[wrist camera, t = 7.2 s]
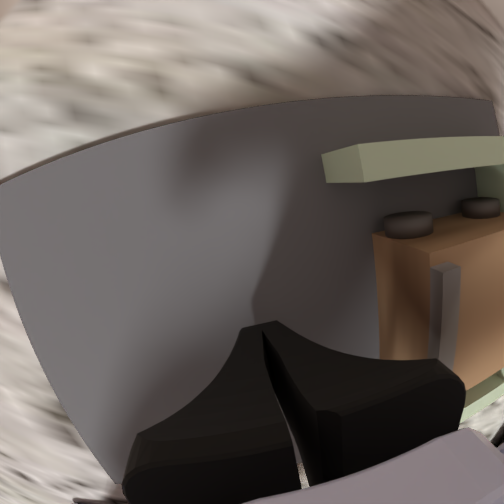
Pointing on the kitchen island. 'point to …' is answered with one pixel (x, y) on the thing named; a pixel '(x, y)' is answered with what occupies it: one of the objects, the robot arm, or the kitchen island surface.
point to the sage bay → (427, 161)
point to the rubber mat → (209, 248)
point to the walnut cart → (443, 288)
